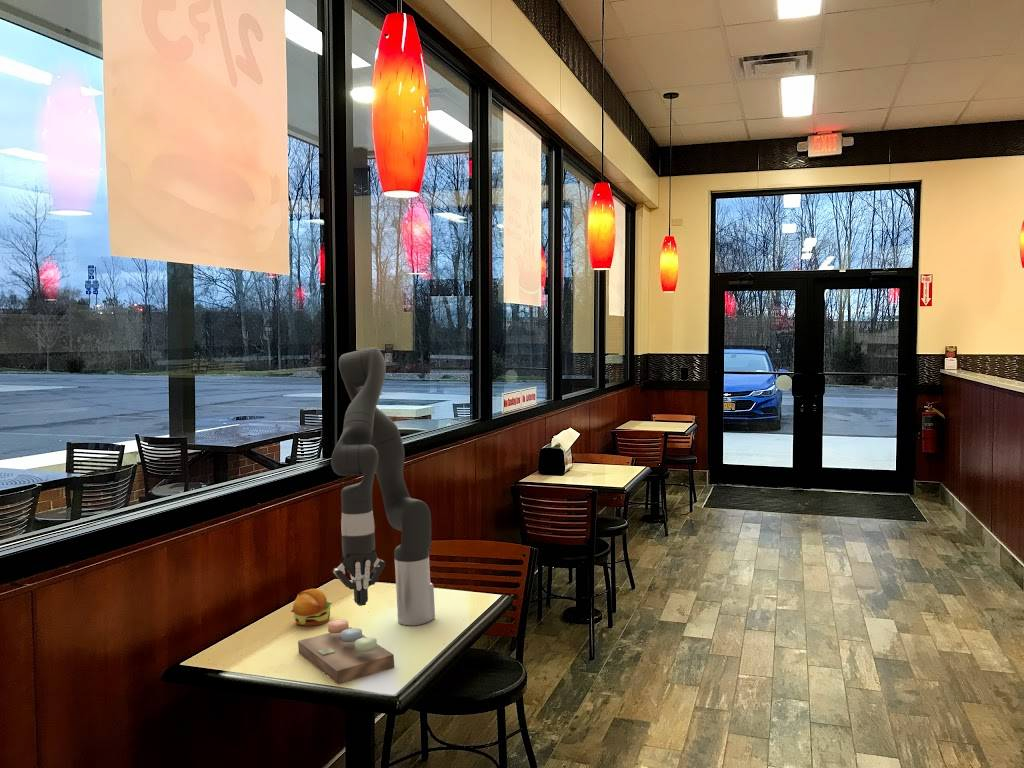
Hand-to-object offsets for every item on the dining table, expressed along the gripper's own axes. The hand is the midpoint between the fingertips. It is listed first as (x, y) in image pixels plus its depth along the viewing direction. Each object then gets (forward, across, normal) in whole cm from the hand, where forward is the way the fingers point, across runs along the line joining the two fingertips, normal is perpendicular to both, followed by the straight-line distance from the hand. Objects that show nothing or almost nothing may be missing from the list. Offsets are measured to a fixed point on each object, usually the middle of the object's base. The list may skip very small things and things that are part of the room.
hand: (361, 604), depth 187 cm
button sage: (+10, -1, 0) cm, 10 cm away
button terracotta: (+10, 0, -16) cm, 19 cm away
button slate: (+10, 0, -8) cm, 13 cm away
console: (+15, +2, -8) cm, 17 cm away
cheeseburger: (+15, -2, -39) cm, 42 cm away
